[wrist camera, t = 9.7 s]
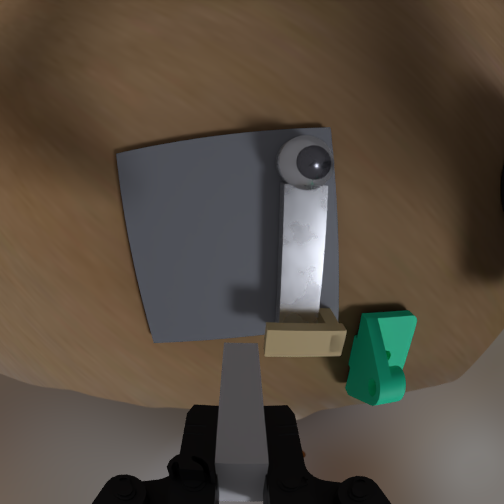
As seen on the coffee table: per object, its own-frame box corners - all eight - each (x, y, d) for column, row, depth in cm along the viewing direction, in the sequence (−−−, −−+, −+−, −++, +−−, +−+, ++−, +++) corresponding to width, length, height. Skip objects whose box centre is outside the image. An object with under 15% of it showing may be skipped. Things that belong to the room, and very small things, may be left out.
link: (275, 136, 28) (284, 130, 22) (325, 139, 28) (344, 134, 23) (270, 328, 34) (276, 358, 28) (313, 326, 34) (326, 355, 28)
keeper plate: (326, 129, 29) (350, 119, 22) (334, 319, 36) (354, 353, 28) (121, 154, 29) (90, 152, 22) (157, 337, 35) (141, 373, 28)
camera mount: (389, 377, 39) (417, 422, 29) (343, 383, 39) (365, 434, 29) (409, 306, 36) (450, 345, 26) (358, 309, 36) (393, 355, 26)
